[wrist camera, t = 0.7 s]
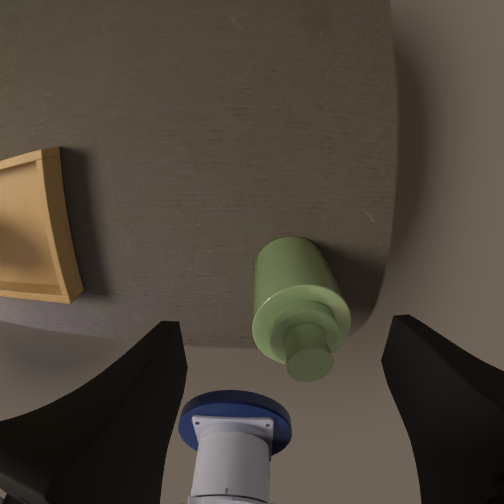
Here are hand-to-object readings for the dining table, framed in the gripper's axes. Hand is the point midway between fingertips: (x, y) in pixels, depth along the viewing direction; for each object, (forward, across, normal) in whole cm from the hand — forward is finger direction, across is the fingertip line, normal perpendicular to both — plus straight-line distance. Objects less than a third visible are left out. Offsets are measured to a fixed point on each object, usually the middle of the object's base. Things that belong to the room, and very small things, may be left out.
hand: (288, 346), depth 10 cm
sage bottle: (+9, -1, +1) cm, 9 cm away
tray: (+9, +25, -2) cm, 26 cm away
